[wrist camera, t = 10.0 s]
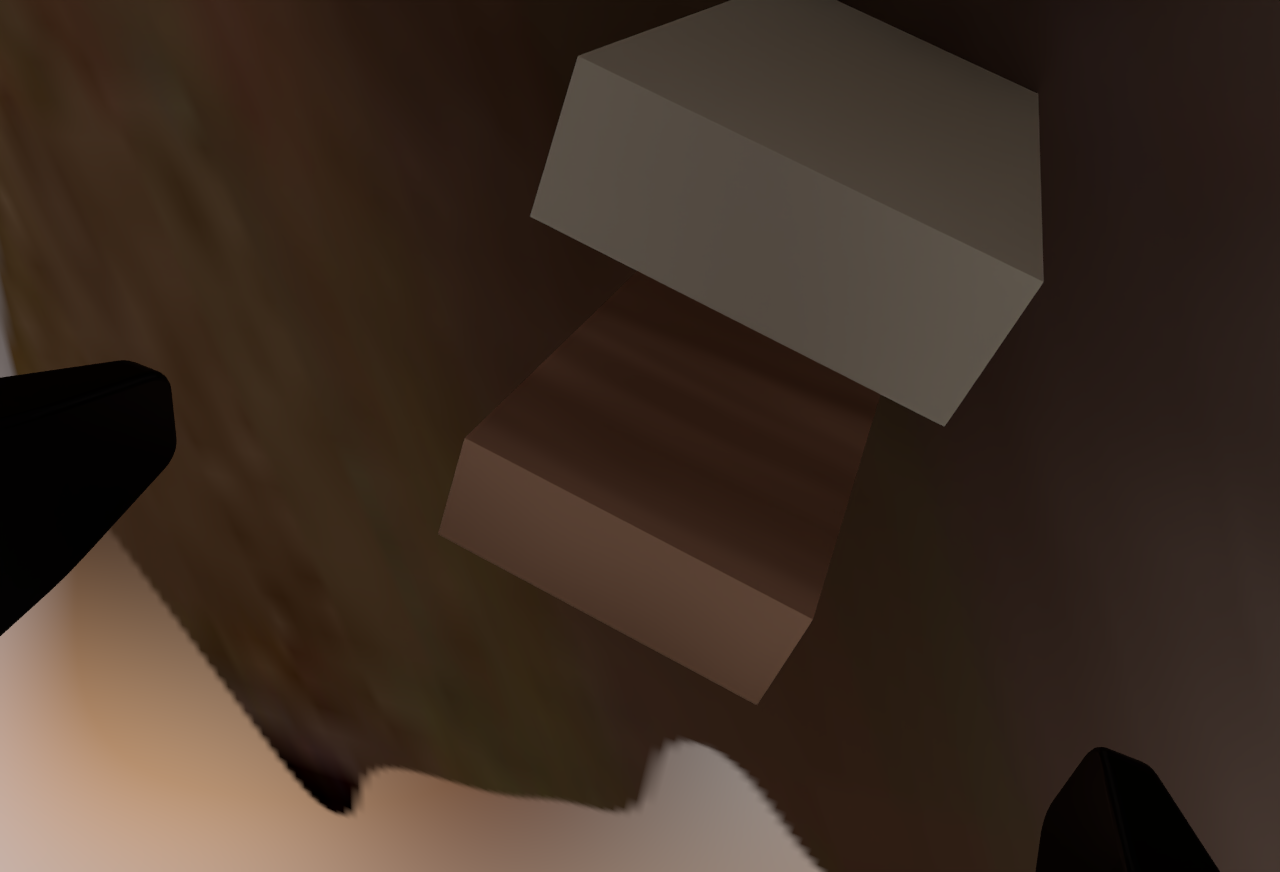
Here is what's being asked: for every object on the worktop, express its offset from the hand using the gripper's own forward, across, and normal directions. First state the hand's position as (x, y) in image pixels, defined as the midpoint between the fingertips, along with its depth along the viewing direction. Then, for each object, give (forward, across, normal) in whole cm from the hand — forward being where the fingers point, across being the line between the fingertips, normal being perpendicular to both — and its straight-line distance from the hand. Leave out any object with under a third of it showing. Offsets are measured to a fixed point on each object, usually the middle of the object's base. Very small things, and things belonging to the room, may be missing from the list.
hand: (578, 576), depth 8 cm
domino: (+13, 0, -2) cm, 13 cm away
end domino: (+13, 0, +3) cm, 13 cm away
